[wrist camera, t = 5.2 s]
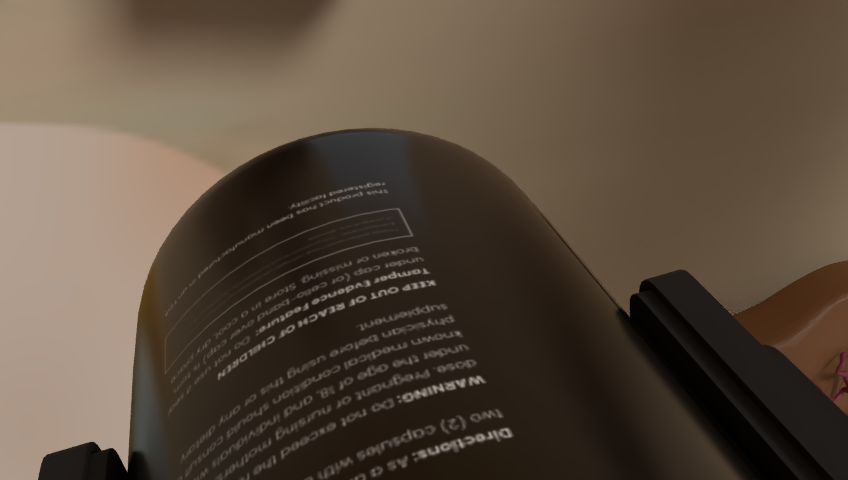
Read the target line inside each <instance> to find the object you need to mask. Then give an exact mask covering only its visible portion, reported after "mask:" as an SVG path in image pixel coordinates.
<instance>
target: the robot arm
mask: <svg viewBox="0 0 848 480" xmlns="http://www.w3.org/2000/svg"><path fill="white" fill-rule="evenodd" d="M630 318H631V319H632V321H633V322H634V323H635V324H636V325H637V327H638V328H639V329H640V330H641V331H642V333H643V334H644V335H645V336H646V337H647V339H648V340H649V341H650V342H651V343H652V344H653V346H654V347H655V348H656V349H657V350H658V352H659V353H660V354H661V355H662V356H663V358H664V359H665V360H666V361H667V362H668V364H669V365H670V366H671V367H672V368H673V370H674V371H675V372H676V373H677V374H678V376H679V377H680V378H681V379H682V380H683V382H684V383H685V384H686V385H687V386H688V388H689V389H690V390H691V391H692V392H693V394H694V395H695V396H696V397H697V398H698V400H699V401H700V402H701V403H702V404H703V406H704V407H705V408H706V409H707V410H708V412H709V413H710V414H711V415H712V416H713V418H714V419H715V420H716V421H717V422H718V424H719V425H720V426H721V427H722V428H723V429H724V431H725V432H726V433H727V434H728V435H729V437H730V438H731V439H732V440H733V441H734V443H735V444H736V445H737V446H738V447H739V449H740V450H741V451H742V452H743V453H744V455H745V456H746V457H747V458H748V459H749V461H750V462H751V463H752V464H753V465H754V467H755V468H756V469H757V470H758V471H759V473H760V474H761V475H762V476H763V477H764V479H765V480H848V416H847V415H846V414H845V413H844V412H843V411H842V410H841V409H840V408H839V407H838V406H837V405H836V404H835V403H834V402H833V401H832V400H831V399H830V398H829V397H827V396H826V395H825V394H824V393H823V392H822V391H821V390H820V389H819V388H818V387H817V386H816V385H815V384H814V383H813V382H812V381H811V380H810V379H809V378H808V377H807V376H806V375H805V374H804V373H803V372H802V371H801V370H799V369H798V368H797V367H796V366H795V365H794V364H793V363H792V362H791V361H790V360H789V359H788V358H787V357H786V356H785V355H784V354H783V353H781V352H780V351H779V350H777V349H776V348H775V347H772V346H769V345H766V344H765V345H762V344H761V343H760V342H759V341H758V340H756V339H755V338H754V337H753V336H752V335H751V334H750V333H749V332H748V331H747V330H746V329H745V328H744V327H743V326H742V325H741V324H740V323H739V322H738V321H737V320H736V319H735V318H734V317H733V316H732V315H731V314H730V313H729V312H728V311H727V310H726V309H725V308H724V307H723V306H722V305H721V304H720V303H719V302H718V301H717V300H716V299H715V298H714V297H713V296H712V295H711V294H710V293H709V292H708V291H707V290H706V289H705V288H704V287H703V286H702V285H701V284H700V283H699V282H698V281H697V280H696V279H695V278H694V277H693V276H692V275H690V274H689V273H688V272H687V271H685V270H677V271H674V272H670V273H667V274H663V275H660V276H657V277H653V278H650V279H646V280H644V281H642V283H641V285H640V290H639V293H636V294H633V295H632V296H631V298H630ZM127 474H128V473H127V471H126V469H125V467H124V465H123V463H122V461H121V459H120V457H119V455H118V454H117V452H116V450H114V449H113V448H109V449H106V450H103V451H101V449H100V448H99V447H98V445H97V444H96V443H94V442H89V443H85V444H82V445H79V446H75V447H72V448H68V449H65V450H61V451H58V452H55V453H51V454H48V455H46V456H45V457H44V458H43V461H42V464H41V468H40V473H39V478H38V480H127Z"/></svg>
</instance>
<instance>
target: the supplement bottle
mask: <svg viewBox="0 0 848 480" xmlns="http://www.w3.org/2000/svg"><path fill="white" fill-rule="evenodd" d="M127 480H765V479H764V477H763V476H762V475H761V474H760V473H759V471H758V470H757V469H756V468H755V467H754V465H753V464H752V463H751V462H750V461H749V459H748V458H747V457H746V456H745V455H744V453H743V452H742V451H741V450H740V449H739V447H738V446H737V445H736V444H735V443H734V441H733V440H732V439H731V438H730V437H729V435H728V434H727V433H726V432H725V431H724V429H723V428H722V427H721V426H720V425H719V424H718V422H717V421H716V420H715V419H714V418H713V416H712V415H711V414H710V413H709V412H708V410H707V409H706V408H705V407H704V406H703V404H702V403H701V402H700V401H699V400H698V398H697V397H696V396H695V395H694V394H693V392H692V391H691V390H690V389H689V388H688V386H687V385H686V384H685V383H684V382H683V380H682V379H681V378H680V377H679V376H678V374H677V373H676V372H675V371H674V370H673V368H672V367H671V366H670V365H669V364H668V362H667V361H666V360H665V359H664V358H663V356H662V355H661V354H660V353H659V352H658V350H657V349H656V348H655V347H654V346H653V344H652V343H651V342H650V341H649V340H648V339H647V337H646V336H645V335H644V334H643V333H642V331H641V330H640V329H639V328H638V327H637V325H636V324H635V323H634V322H633V321H632V319H631V318H630V317H629V316H628V315H627V313H626V312H625V311H624V310H623V309H622V307H621V306H620V305H619V304H618V303H617V301H616V300H615V299H614V298H613V297H612V295H611V294H610V293H609V292H608V291H607V289H606V288H605V287H604V286H603V285H602V283H601V282H600V281H599V280H598V279H597V277H596V276H595V275H594V274H593V273H592V271H591V270H590V269H589V268H588V267H587V265H586V264H585V263H584V262H583V261H582V259H581V258H580V257H579V256H578V255H577V253H576V252H575V251H574V250H573V249H572V248H571V246H570V245H569V244H568V243H567V242H566V240H565V239H564V238H563V237H562V236H561V234H560V233H559V232H558V231H557V230H556V228H555V227H554V226H553V225H552V224H551V222H550V221H549V220H548V219H547V218H546V216H545V215H544V214H543V213H542V212H541V211H540V210H539V209H538V208H537V207H536V205H535V204H534V203H533V202H532V201H531V200H530V199H529V198H528V196H527V195H526V194H525V193H524V192H523V191H522V190H521V189H520V188H519V187H518V186H517V185H516V184H515V183H514V182H513V181H512V180H511V179H510V178H509V177H508V176H506V175H505V174H504V173H503V172H502V171H500V170H499V169H498V168H497V167H495V166H494V165H493V164H491V163H490V162H488V161H487V160H485V159H484V158H482V157H480V156H479V155H477V154H475V153H474V152H472V151H470V150H467V149H465V148H463V147H461V146H459V145H457V144H454V143H451V142H449V141H446V140H443V139H440V138H437V137H434V136H430V135H426V134H421V133H417V132H413V131H405V130H398V129H386V128H360V129H346V130H339V131H332V132H326V133H321V134H317V135H313V136H309V137H305V138H301V139H298V140H296V141H293V142H290V143H287V144H284V145H281V146H279V147H276V148H274V149H272V150H270V151H267V152H265V153H263V154H261V155H259V156H257V157H255V158H253V159H252V160H250V161H248V162H246V163H244V164H243V165H241V166H239V167H238V168H236V169H235V170H233V171H232V172H230V173H229V174H227V175H226V176H225V177H223V178H222V179H220V180H219V181H218V182H217V183H216V184H214V185H213V186H212V187H211V188H210V189H209V190H207V191H206V192H205V193H204V194H202V196H201V197H200V198H199V199H198V200H197V201H196V202H195V203H194V204H193V205H192V206H191V207H190V208H189V209H188V210H187V211H186V213H185V214H184V215H183V216H182V217H181V219H180V220H179V221H178V223H177V224H176V225H175V227H174V228H173V229H172V230H171V232H170V234H169V235H168V237H167V238H166V240H165V242H164V243H163V245H162V246H161V248H160V250H159V252H158V254H157V256H156V258H155V260H154V262H153V264H152V266H151V269H150V271H149V274H148V278H147V280H146V283H145V286H144V290H143V295H142V299H141V304H140V308H139V313H138V323H137V334H136V345H135V357H134V366H133V383H132V402H131V420H130V437H129V456H128V474H127Z"/></svg>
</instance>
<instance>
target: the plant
mask: <svg viewBox="0 0 848 480" xmlns="http://www.w3.org/2000/svg"><path fill="white" fill-rule="evenodd" d="M733 317H734V318H735V319H736V320H737V321H738V322H739V323H740V324H741V325H742V326H743V327H744V328H745V329H746V330H747V331H748V332H749V333H750V334H751V335H752V336H753V337H754V338H755V339H756V340H758V341H759V342H760V343H761V344H762V345H765V344H766V345H769V346H772V347H775V348H776V349H777V350H779V351H780V352H781V353H783V354H784V355H785V356H786V357H787V358H788V359H789V360H790V361H791V362H792V363H793V364H794V365H795V366H796V367H797V368H798V369H799V370H801V371H802V372H803V373H804V374H805V375H806V376H807V377H808V378H809V379H810V380H811V381H812V382H813V383H814V384H815V385H816V386H817V387H818V388H819V389H820V390H821V391H822V392H823V393H824V394H825V395H826V396H827V397H829V398H830V399H831V400H832V401H833V402H834V403H835V404H836V405H837V406H838V407H839V408H840V409H841V410H842V411H843V412H844V413H845V414H846V415H847V416H848V261H843V262H838V263H834V264H831V265H828V266H825V267H822V268H820V269H818V270H816V271H814V272H812V273H809V274H808V275H806V276H804V277H802V278H800V279H799V280H797V281H795V282H793V283H792V284H790V285H788V286H787V287H785V288H783V289H782V290H780V291H779V292H777V293H776V294H774V295H772V296H771V297H769V298H768V299H766V300H765V301H763V302H761V303H759V304H757V305H756V306H754V307H752V308H749V309H747V310H745V311H743V312H741V313H738V314H736V315H734V316H733Z"/></svg>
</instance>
